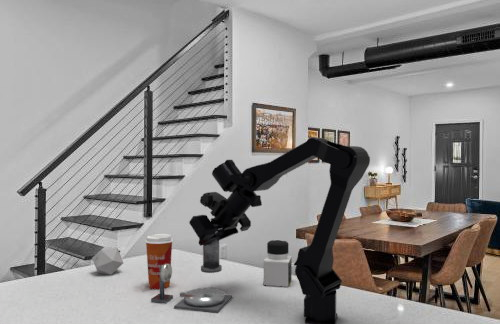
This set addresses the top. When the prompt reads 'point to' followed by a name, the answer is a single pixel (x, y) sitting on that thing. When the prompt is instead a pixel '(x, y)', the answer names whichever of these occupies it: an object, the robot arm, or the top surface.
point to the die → (107, 260)
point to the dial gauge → (164, 277)
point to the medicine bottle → (277, 264)
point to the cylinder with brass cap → (211, 256)
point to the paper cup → (158, 257)
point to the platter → (203, 297)
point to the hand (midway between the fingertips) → (206, 242)
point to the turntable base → (204, 308)
